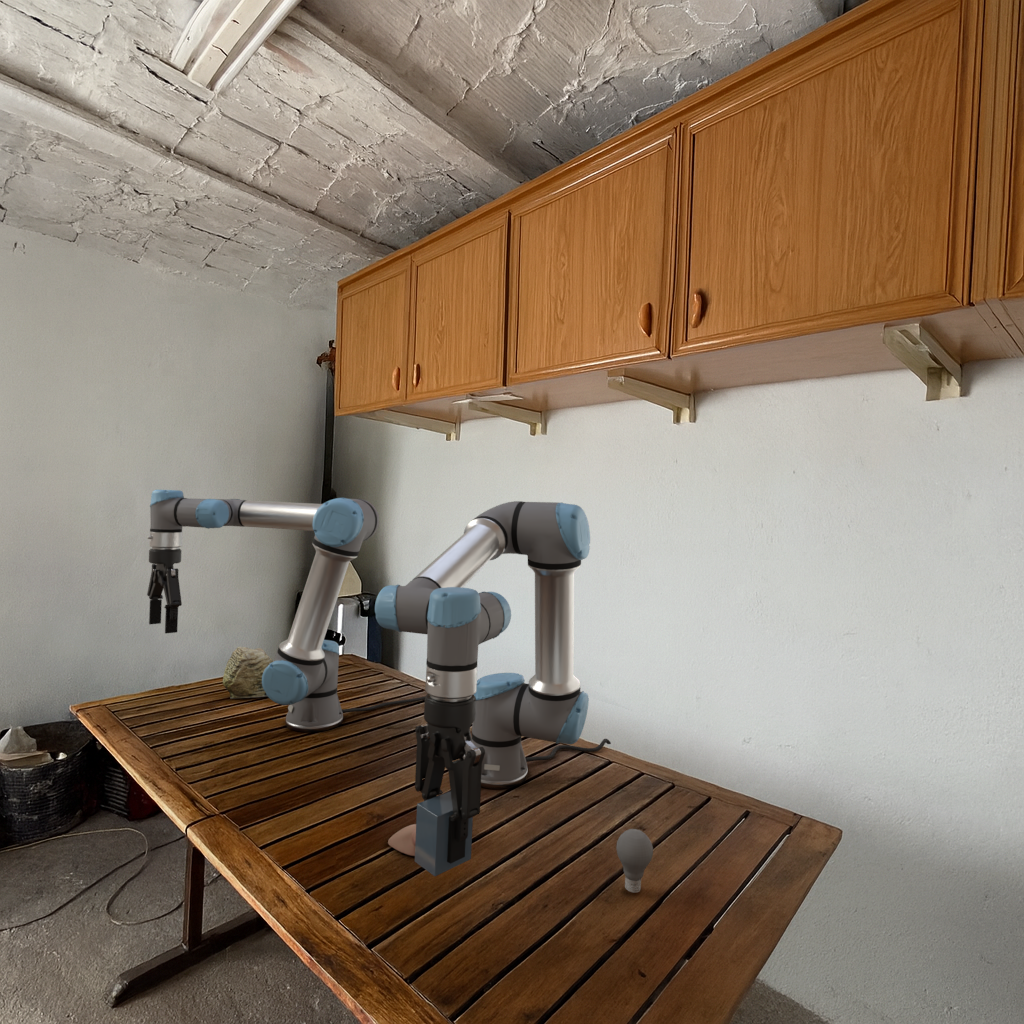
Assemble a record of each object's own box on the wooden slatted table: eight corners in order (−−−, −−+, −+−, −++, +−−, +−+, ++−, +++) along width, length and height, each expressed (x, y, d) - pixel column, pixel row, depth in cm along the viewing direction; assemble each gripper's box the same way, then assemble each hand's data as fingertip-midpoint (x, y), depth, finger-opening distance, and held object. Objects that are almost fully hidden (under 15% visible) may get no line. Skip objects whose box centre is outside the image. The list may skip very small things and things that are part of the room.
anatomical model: (381, 829, 114) (405, 800, 125) (380, 851, 114) (404, 820, 125) (452, 840, 111) (469, 809, 122) (451, 862, 111) (469, 830, 123)
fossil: (218, 695, 195) (220, 647, 195) (278, 685, 208) (279, 640, 207) (228, 703, 189) (230, 653, 188) (289, 692, 201) (290, 645, 201)
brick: (414, 861, 93) (416, 803, 93) (450, 845, 97) (452, 790, 97) (434, 876, 89) (437, 816, 89) (471, 859, 94) (473, 801, 94)
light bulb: (610, 879, 108) (613, 822, 108) (644, 879, 109) (647, 822, 109) (619, 902, 102) (622, 840, 102) (655, 901, 103) (658, 840, 103)
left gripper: (136, 544, 173) (133, 621, 174) (164, 552, 156) (161, 638, 156) (166, 544, 179) (163, 618, 179) (197, 551, 161) (194, 634, 161)
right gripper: (394, 684, 97) (388, 834, 97) (471, 716, 84) (463, 889, 84) (433, 676, 102) (427, 819, 102) (511, 705, 89) (504, 868, 90)
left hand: (162, 628), depth 168 cm, fingers open, 13 cm apart
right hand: (443, 850), depth 93 cm, fingers closed on brick, 5 cm apart
